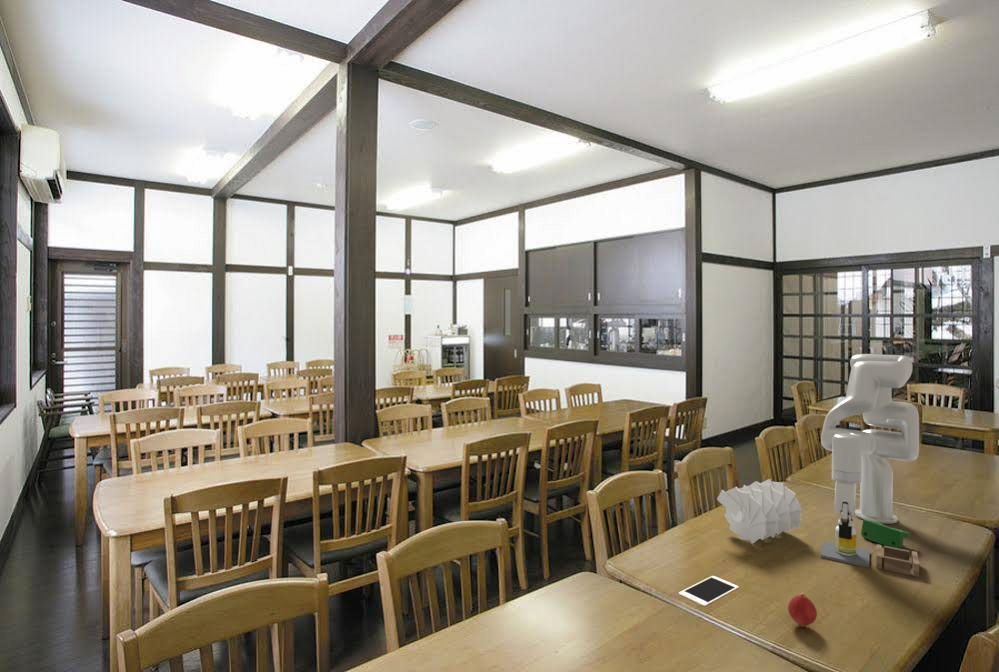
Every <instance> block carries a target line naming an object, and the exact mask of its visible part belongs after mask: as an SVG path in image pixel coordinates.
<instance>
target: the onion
mask: <svg viewBox="0 0 999 672" xmlns="http://www.w3.org/2000/svg"><path fill="white" fill-rule="evenodd" d="M787 610H788V613H789V616H790V618H791V619H792V620H793V621H794V622H795V623H796V624H797V625H798V626H800V627H801V628H805V627H808V626H809V625H811V624H813V623H815V620H816V619H817V617H818V612H817V608H816V606H815V604H814V603H813V601H812V600H811V599H810V598H809V597H807V596H806V594H805V593H804V592H801V593H800V594H797V595H795V596H793V597H792V598H791V600H789V603H788V605H787Z"/></svg>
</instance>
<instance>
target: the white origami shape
mask: <svg viewBox="0 0 999 672" xmlns="http://www.w3.org/2000/svg"><path fill="white" fill-rule="evenodd" d="M716 500H717V501H718V502H719V503H720V504H721V505H723V507H724V508H725V512H726V513H724V514H723V516H724V518H725V519H726V521H727V522H728V525H729V528H728V529H729V530H730V531H731V532H733V533H734V534H736V535H737V536H738V538H739V539H740V541H749V542H750V544H752V545H753V544H754V543H756V542H757V541H759V540H761V541H763V540H766V539H768V538H770V537H771V538H773V539H775V536H776V534H777V536H779V535H781V534H782V533H783V532H784V531H786V532H787V533H788V532H790V531H792V530H793V529H794V528H797V529H799V528H800V524H801V523H802V518H803V517H802V510H803V506H802V505H801V503H800V502H799V500H798V498H797V494H796V493H795V492H794V491H792V489H789V487H787V486H786V485H785V483H784V482H777V481H772V480H771V478H768V479H766V480H764V481H762V482H759V481H757V480H755V481H754V482H752V483H751V484H749V485H745V484H743V486H742V487H739V488H738V487H737V486H735V487H733V488H730V489H727V490H726V491H725V490H724V489H721V490H720V493H719V494H718V497H717V498H716Z"/></svg>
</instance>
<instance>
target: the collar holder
mask: <svg viewBox="0 0 999 672" xmlns="http://www.w3.org/2000/svg"><path fill="white" fill-rule="evenodd" d="M882 556H883V557H882ZM883 559H884V560H883ZM875 560H876V561H875V562H876V569H880V570H882V569H884V571H888V572H889V571H890V572H893V573H899V574H903V575H908V576H911V574H912V576H914V577H916V578H917V577H918V578H919V577H920V562H919V555H918V551H914V550H911V560H910V550H909V549H903V548H901V549H899V548H894V547H888V546H885V545H883V552H882V544H879V543H877V544H876V559H875ZM882 561H884V563H883V562H882ZM882 563H883V564H884V565H883V564H882ZM882 565H883V566H884V567H883V568H882ZM911 568H912V569H911Z"/></svg>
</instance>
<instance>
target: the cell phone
mask: <svg viewBox="0 0 999 672" xmlns="http://www.w3.org/2000/svg"><path fill="white" fill-rule="evenodd" d="M737 589H740V587H739V586H738V585H737V584H734V583H733V582H730V581H727V580H725V579H723V578H721V577H718V576H715V575H711V576H709V577H707V578H705V579H702V580H701V581H699V582H697V583H695V584H693V585H690V586H688V587H687V588H685V589H683V590H681V591H679V592H678V595H680V596H682V597H684V598H686V599H688V600H690V601H692V602H695V603H696V604H699V605H700V606H703V607H707V606H708V605H710V604H712V603H714V602H716V601H717V600H719V599H721V598H724V596H726V595H729V594H730V593H732V592H734V591H735V590H737Z"/></svg>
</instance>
